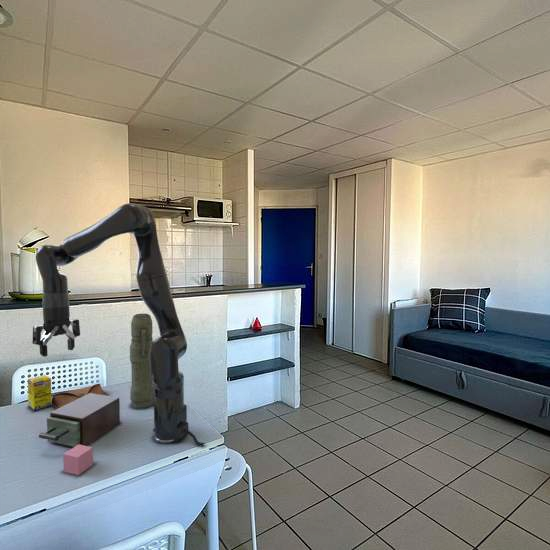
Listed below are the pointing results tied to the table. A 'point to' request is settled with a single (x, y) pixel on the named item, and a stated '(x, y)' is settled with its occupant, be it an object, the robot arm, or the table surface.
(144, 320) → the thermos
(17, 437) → the table surface
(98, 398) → the cabinet
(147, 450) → the table surface
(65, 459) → the block
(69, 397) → the sunglasses case
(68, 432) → the drawer
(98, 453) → the table surface
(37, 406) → the supplement box
